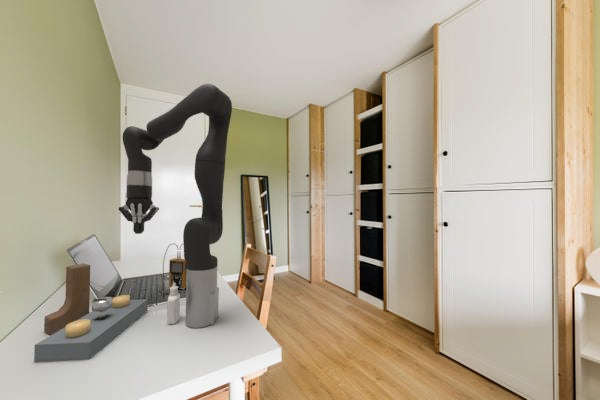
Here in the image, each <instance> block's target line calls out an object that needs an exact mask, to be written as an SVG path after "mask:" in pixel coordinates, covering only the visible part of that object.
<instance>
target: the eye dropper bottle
mask: <svg viewBox="0 0 600 400" xmlns="http://www.w3.org/2000/svg"><path fill="white" fill-rule="evenodd" d="M178 291H179V290H178V286H176V283H173V286H172V287H171V288H170V289H169V292H170V293H169V294H168V297H167V304H166V309H167V310H166V324H167V325H175V324H177V323H178V322H179V321H180V318H181V317H180V316H181V295H180V293H179V292H178Z"/></svg>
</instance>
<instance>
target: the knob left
mask: <svg viewBox="0 0 600 400" xmlns="http://www.w3.org/2000/svg"><path fill="white" fill-rule="evenodd" d="M89 331H90V320H89V319H81V320H77V321H74V322H71V323H69V324H67V325H66V337H67V338H73V337H78V336H81V335H84V334H86V333H87V332H89Z"/></svg>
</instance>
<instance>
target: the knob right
mask: <svg viewBox="0 0 600 400" xmlns="http://www.w3.org/2000/svg"><path fill="white" fill-rule="evenodd" d="M112 298H113V302H112V307H113V308H120V307H124V306H127V305H129V304H130V300H131V296H130V295H129V294H121V295H118V296H114V297H112Z"/></svg>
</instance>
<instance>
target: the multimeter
mask: <svg viewBox="0 0 600 400" xmlns="http://www.w3.org/2000/svg"><path fill="white" fill-rule="evenodd" d="M171 245H173V243H171V244H169V245H168V247H167V249H166V250H165V253H164V256H163V261H162V262H163V263H162V274H163V275H162V276H163V278H162V279H165V272H164V270H165V269H164V265H165V263H164V262H165V258H166V254H167V251H168V249H169V248H170V246H171ZM174 245H175V246H176V248H177V249H181V248H182V246H184V243H181V245H180V246H179V247H178V245H177V244H176V243H174ZM176 254H177V255H176V258H175V257H174V258H172V259H169V264H168V265H169V266H168V267H169V268H168V269H169V270H168V273H169V274H168V279H169V280H168V284H169V285H168V288H169V287H172V286H173V283H176V286H178V288H184V287H186V274H187V264H186V261H185V259H184V258H181V252H177V253H176ZM163 286H164V287H165V284H163V285H162V287H163Z"/></svg>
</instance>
